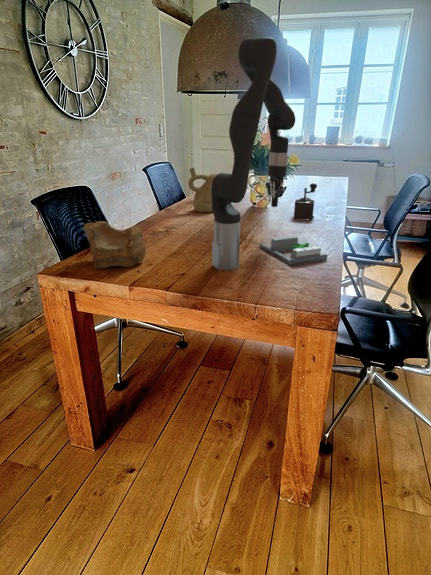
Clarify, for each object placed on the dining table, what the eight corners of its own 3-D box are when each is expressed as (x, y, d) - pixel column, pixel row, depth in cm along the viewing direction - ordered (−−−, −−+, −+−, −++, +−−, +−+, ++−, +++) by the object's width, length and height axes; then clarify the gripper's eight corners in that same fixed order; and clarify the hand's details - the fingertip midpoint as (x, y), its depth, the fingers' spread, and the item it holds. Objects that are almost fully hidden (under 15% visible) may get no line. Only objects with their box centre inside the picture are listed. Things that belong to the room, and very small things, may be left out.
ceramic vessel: (224, 212, 222) (225, 168, 212) (191, 214, 218) (190, 169, 208) (217, 207, 238) (217, 165, 227) (186, 208, 233) (185, 166, 223)
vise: (292, 265, 141) (293, 253, 139) (259, 247, 162) (260, 235, 160) (326, 260, 147) (328, 248, 145) (291, 243, 168) (292, 232, 166)
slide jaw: (274, 251, 156) (275, 240, 154) (270, 249, 159) (271, 238, 157) (296, 248, 160) (297, 237, 158) (292, 246, 163) (293, 235, 161)
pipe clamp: (299, 252, 157) (300, 241, 155) (307, 253, 155) (309, 243, 153) (287, 259, 149) (288, 247, 147) (296, 261, 147) (297, 249, 145)
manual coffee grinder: (313, 220, 206) (317, 187, 199) (293, 219, 209) (296, 186, 201) (313, 214, 220) (317, 182, 213) (294, 213, 222) (297, 182, 215)
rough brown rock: (71, 271, 137) (64, 232, 130) (94, 253, 151) (89, 217, 144) (131, 279, 133) (127, 239, 125) (149, 260, 147) (146, 223, 140)
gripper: (261, 162, 159) (258, 204, 165) (278, 165, 147) (274, 210, 154) (276, 162, 161) (273, 203, 168) (294, 165, 150) (290, 209, 157)
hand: (274, 206), depth 161 cm, fingers closed
